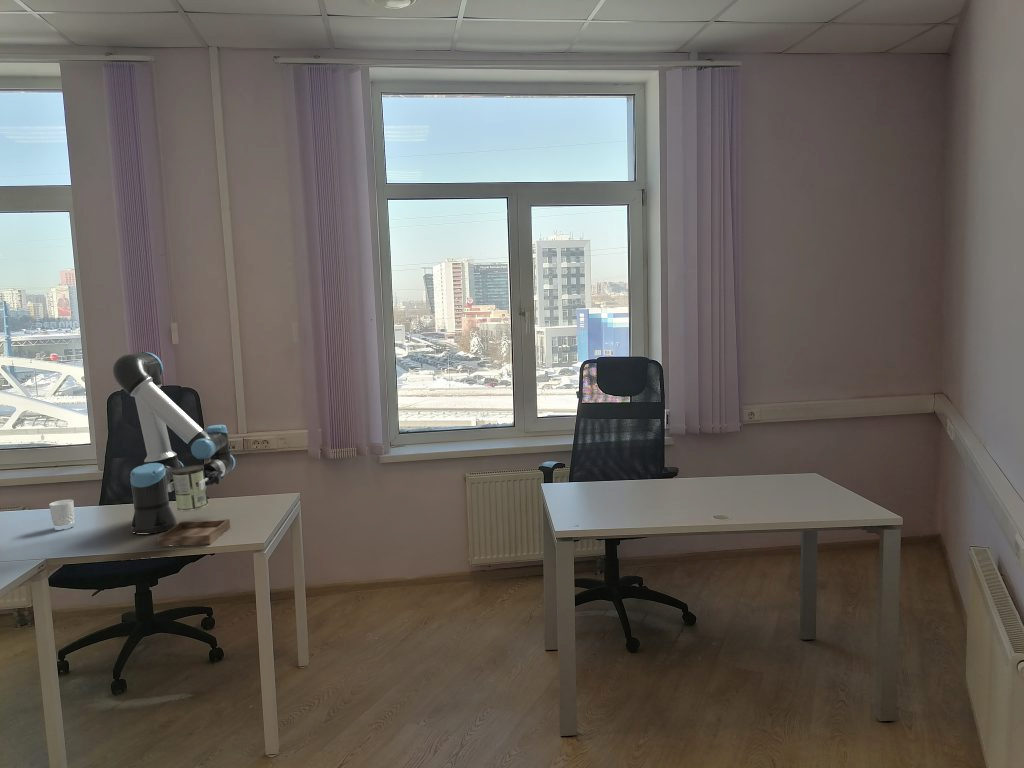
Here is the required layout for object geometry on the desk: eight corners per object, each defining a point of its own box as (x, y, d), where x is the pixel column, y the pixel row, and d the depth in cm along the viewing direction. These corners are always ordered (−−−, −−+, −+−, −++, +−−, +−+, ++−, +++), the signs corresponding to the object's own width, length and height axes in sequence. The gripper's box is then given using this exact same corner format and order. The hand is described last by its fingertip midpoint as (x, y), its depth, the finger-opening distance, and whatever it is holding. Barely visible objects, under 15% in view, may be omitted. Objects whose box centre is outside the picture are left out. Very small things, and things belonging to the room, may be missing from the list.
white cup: (76, 528, 287) (73, 502, 285) (52, 532, 283) (49, 506, 281) (76, 523, 293) (73, 498, 292) (52, 527, 289) (49, 502, 288)
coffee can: (185, 503, 271) (180, 465, 269) (213, 502, 270) (209, 464, 268) (171, 512, 261) (166, 472, 259) (200, 511, 260) (195, 471, 258)
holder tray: (158, 547, 258) (157, 538, 258) (181, 530, 276) (180, 521, 276) (210, 544, 258) (209, 535, 257) (230, 527, 276) (229, 519, 275)
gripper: (242, 479, 282) (218, 496, 260) (182, 483, 283) (153, 499, 261) (239, 460, 282) (215, 474, 259) (179, 463, 282) (150, 478, 260)
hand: (184, 487), depth 260 cm, fingers closed on coffee can, 10 cm apart
